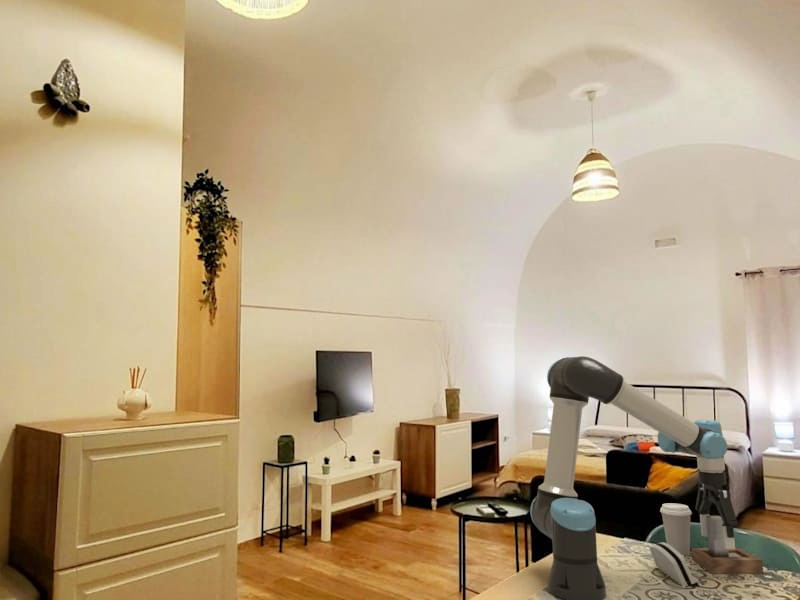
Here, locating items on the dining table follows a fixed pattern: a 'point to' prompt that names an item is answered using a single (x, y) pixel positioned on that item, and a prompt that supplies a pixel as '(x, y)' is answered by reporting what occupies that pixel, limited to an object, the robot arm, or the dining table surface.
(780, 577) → the dining table surface
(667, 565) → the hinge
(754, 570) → the frame
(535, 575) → the dining table surface
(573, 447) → the robot arm
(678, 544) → the coffee cup
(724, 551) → the bracket
